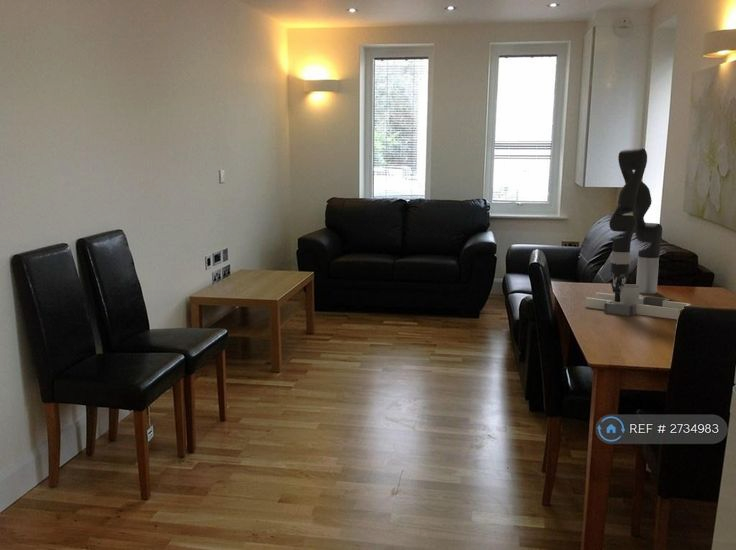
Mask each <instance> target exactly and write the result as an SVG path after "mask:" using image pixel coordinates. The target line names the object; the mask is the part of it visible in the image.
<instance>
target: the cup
mask: <svg viewBox="0 0 736 550" xmlns="http://www.w3.org/2000/svg"><path fill="white" fill-rule="evenodd" d="M640 288H641V287H640V286H638V285H636V284H631V283H629V284H627V283H625V284H624V287H622V286H620V300H621V305H629V306H631V305H633V304H637V303H638V299H639V298H640V294H641V293H640Z"/></svg>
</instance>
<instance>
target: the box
mask: <svg viewBox="0 0 736 550" xmlns="http://www.w3.org/2000/svg"><path fill="white" fill-rule="evenodd" d="M614 300H615V294H611V293H605V292H596V294H595V297H594V298H593V297H585V305H584V307H585V308H591V309H599V310H603V313H606V314H612V315H619V314H620V315H621V316H628V317H634V316H635V315H643V316H648V317H649V316H650V317H656V318H657V317H658V318H663V319H672V320H678V319H677V318H678V315H679V312H680V310H681V308H682V307H684V306H691V307H692V303H687V302H686V303H685V302H678V301H670V298H667V297H658V296H650V295H649V296H648V295H643V296H642V297H639V299H638V303H637V304H633V305H631V306H629V305H621V301H620V302H615V301H614Z"/></svg>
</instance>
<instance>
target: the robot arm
mask: <svg viewBox="0 0 736 550" xmlns="http://www.w3.org/2000/svg"><path fill="white" fill-rule="evenodd" d="M647 153H648V152H647V150H646V149H645V148H643V147H642V148H641V147H640V148H639V147H636V148H626V149H622V150H620V151H619V153H618V157H617V158H618V160H617V161H618V165H619V168H620V171H621V174H622V178H623V180H624V185H623V186H622V188H621V189H620V192H619V194H618V200H617V206H616V208H615V210H614V212H613V214H612V216H611V217H610V220H609V224H608V225H609V228H610V230H611V231H612V232H617V233H618V232H619V233H620V232H622V233H625V235H624V236H618V237H614V238H613V239H612V249H611V250H612V252H611V256H610V257H611V258H610V269H609V271H610V273H611V274H614V275H613V278H612V282H611V289H612V293H614V295H615V300H614V301H615V302H620V301H621V300H620V286H622V287H624V284H627V278H626V275H628V274H629V273H630V267H631V265H630V263H631V244H632V243H631V242H632V238H633V235H634V232H635V236H636V239H637V241H638V242H640V243H648V244H649V243H650V246H649V247H646V248H643V249H639V250H638V253H637V255H638V256H637V266H636V282H635V283H636V284H635V285H638V286H640V287H641V288H640V294H644V295H645V294H646V295H653V294H657V290H658V280H659V279H658V277H659V266H660V265H659V261H660V252H661V245H662V239H663V238H662V237H663V226H662V224H660V223H658V222H657V223H656V222H646V221H645V215H646V214H647V213H648V210H649V209H650V207H651V206H652V195H651V191H650V188H649V187H648V186H647V185H646V183H645V182H643V180H642V179H643V177H644V174H645V172H646V167H647V162H648V154H647ZM631 213H632V215H629V214H631ZM626 214H627V215H626Z"/></svg>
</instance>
